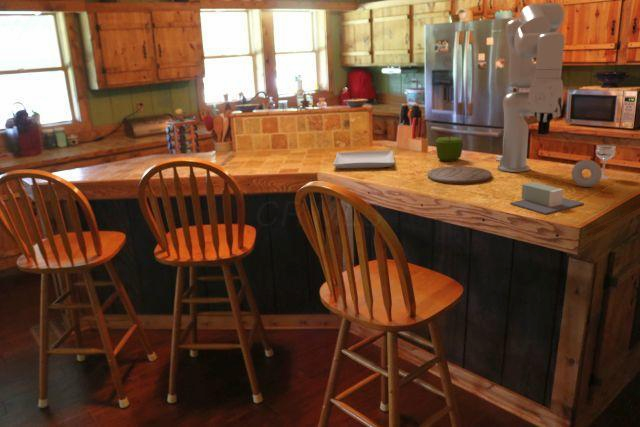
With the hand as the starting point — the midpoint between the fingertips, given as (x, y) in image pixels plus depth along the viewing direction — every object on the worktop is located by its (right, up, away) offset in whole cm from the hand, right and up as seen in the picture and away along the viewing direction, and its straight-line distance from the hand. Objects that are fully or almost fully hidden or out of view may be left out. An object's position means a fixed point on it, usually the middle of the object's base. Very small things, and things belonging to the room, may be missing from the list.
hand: (543, 133), depth 170 cm
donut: (+24, -16, +22) cm, 36 cm away
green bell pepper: (-12, -1, +75) cm, 76 cm away
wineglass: (+37, -12, +33) cm, 51 cm away
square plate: (-51, -3, +76) cm, 92 cm away
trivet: (-15, -11, +44) cm, 48 cm away
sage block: (-1, -18, +10) cm, 20 cm away
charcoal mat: (+3, -23, +4) cm, 23 cm away
